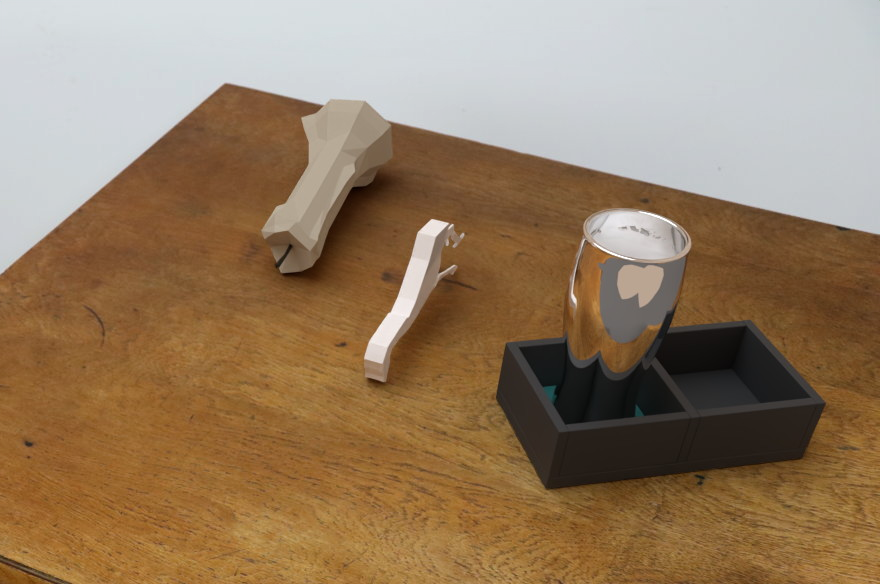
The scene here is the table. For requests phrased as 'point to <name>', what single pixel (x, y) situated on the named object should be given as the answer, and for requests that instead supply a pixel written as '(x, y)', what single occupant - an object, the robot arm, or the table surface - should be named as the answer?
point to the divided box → (666, 409)
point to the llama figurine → (410, 295)
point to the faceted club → (327, 179)
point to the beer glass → (617, 311)
